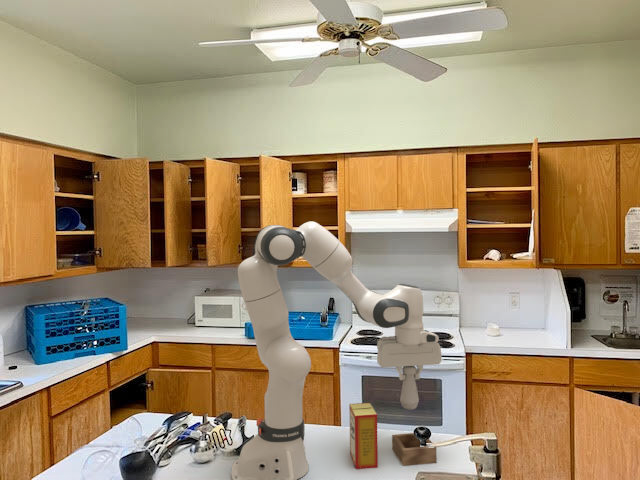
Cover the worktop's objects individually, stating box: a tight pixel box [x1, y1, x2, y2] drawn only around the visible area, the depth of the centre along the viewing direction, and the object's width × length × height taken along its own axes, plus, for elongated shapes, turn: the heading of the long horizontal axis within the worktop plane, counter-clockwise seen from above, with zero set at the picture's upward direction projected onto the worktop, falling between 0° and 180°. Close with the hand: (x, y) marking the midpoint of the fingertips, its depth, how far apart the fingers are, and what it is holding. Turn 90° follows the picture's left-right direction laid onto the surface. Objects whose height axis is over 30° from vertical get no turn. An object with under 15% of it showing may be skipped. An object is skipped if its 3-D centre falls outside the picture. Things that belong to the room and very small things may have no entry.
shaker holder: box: [391, 432, 437, 467], centre depth 137 cm, size 10×10×5 cm
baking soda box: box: [349, 402, 379, 470], centre depth 135 cm, size 10×6×16 cm
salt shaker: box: [399, 366, 420, 411], centre depth 140 cm, size 6×6×13 cm
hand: (409, 379), depth 140 cm, fingers closed on salt shaker, 3 cm apart
